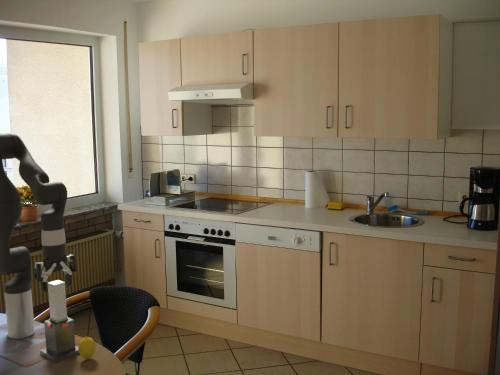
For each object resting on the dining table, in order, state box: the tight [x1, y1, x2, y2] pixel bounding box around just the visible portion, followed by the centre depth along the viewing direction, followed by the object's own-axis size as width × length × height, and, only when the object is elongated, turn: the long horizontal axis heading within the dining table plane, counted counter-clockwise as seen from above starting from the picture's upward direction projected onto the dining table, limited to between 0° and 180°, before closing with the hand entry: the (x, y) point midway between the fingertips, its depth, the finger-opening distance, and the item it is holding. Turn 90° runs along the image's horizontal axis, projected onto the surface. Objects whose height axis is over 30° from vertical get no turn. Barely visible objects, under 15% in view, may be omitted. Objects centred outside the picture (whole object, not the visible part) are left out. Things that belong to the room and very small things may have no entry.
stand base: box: [39, 316, 80, 363], centre depth 186 cm, size 10×10×12 cm
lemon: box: [78, 336, 97, 360], centre depth 182 cm, size 6×6×8 cm
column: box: [47, 279, 69, 324], centre depth 185 cm, size 4×4×19 cm
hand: (56, 288), depth 184 cm, fingers open, 8 cm apart
